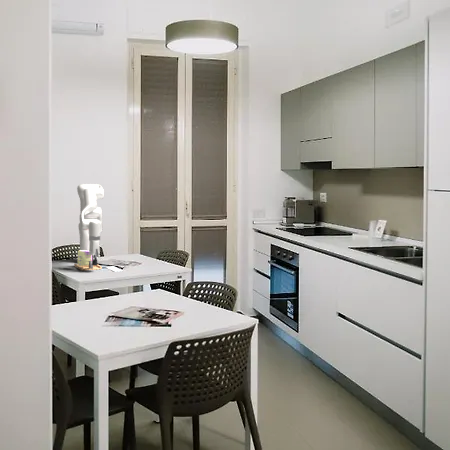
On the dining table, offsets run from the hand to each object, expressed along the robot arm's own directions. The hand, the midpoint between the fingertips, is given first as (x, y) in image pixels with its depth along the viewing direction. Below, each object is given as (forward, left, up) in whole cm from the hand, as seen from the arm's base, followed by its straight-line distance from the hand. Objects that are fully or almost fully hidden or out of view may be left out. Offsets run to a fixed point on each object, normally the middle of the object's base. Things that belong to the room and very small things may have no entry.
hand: (94, 265), depth 403 cm
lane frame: (-17, 0, -5) cm, 18 cm away
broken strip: (-4, +15, -5) cm, 16 cm away
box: (-21, 0, -5) cm, 22 cm away
